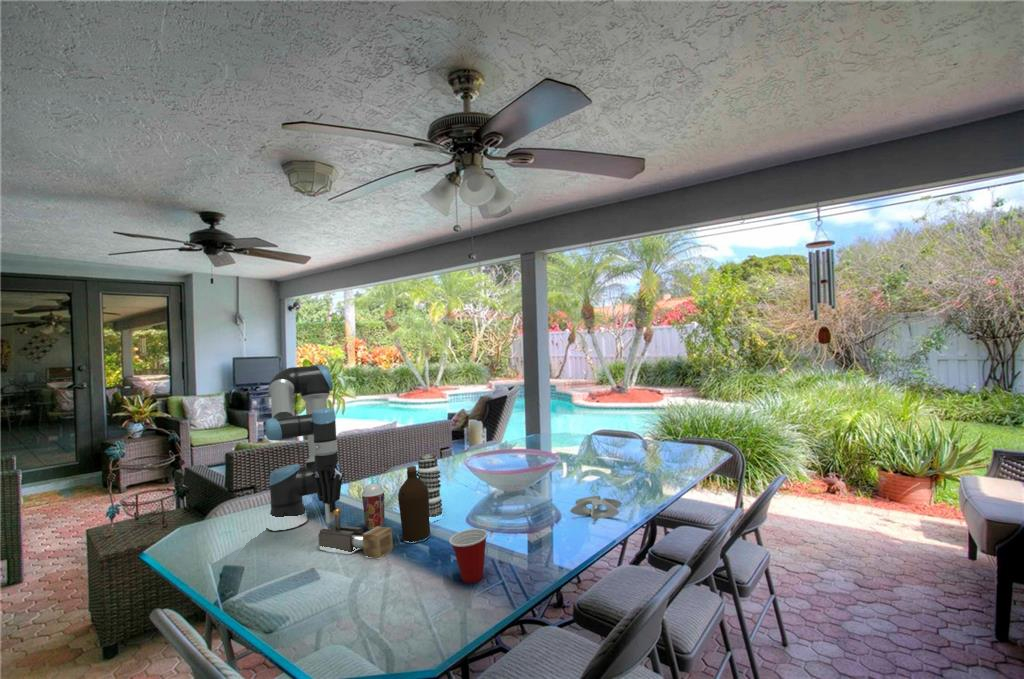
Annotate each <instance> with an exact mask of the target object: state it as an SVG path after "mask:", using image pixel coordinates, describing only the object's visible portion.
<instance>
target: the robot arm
mask: <svg viewBox="0 0 1024 679" xmlns="http://www.w3.org/2000/svg"><path fill="white" fill-rule="evenodd" d="M332 378H333V377H332V375H331V371H330V368H329V367H328V366H327V365H323V364H322V365H320V364H319V365H318V364H316V365H307V366H305V365H304V366H297V367H296V366H295V367H293V366H292V367H288V368H285V369H282V370H281V371H279V372H278V373H276V374H275V375H274V376H273V377H272V378H271V380H270V382H269V384H268V394H269V397H271V399H270V400H271V418H269V419H267V420H265V437H266V439H267V440H268V441H275V440H279V441H280V440H283V439H284V440H285V439H292V438H298V437H304V436H305V437H306V436H307V443H308V444H307V446H308V455H309V457H308V458H307V459H306V461H305V466H302V465H301V464H299V463H295V464H289V465H285V466H282V467H279V468H277V469H274V470H273V471H272V472H271V473H270V474H269V483H268V485H269V488H270V489H269V493H270V494H269V495H270V496H269V497H270V512H269V515H270V514H271V515H272V516H275V517H284V516H298V515H302V514H304V513H305V510H306V507H305V505H304V501H303V497H304V496H309V495H313V494H317V498H318V501H319V502H322V503H323V510H324V513H325V514H324V515H325V523H326V524H330V523H331V524H332V522H335V515H334V514H333V511H334V509H336V502H337V501H339V500H340V498H341V493H342V492H341V491H342V490H341V489H342V482H343V478H344V475H345V474H344V473H343V472H340V469H341V468H340V461H339V454H338V452H337V451H338V449H339V448H338V440H337V439H338V438H337V424H336V418H337V416H336V412H335V409H334V408H332V407H328V402H327V399H328V397H329V396H330V395H331V394H330V392H332V391H333V390H334V385H333V380H332ZM293 395H300V398H301V399H302V400H303V401H304V402H305V414H302V415H301V414H299V415H295V410H294V400H293V399H294V398H293ZM306 511H307V510H306Z"/></svg>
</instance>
